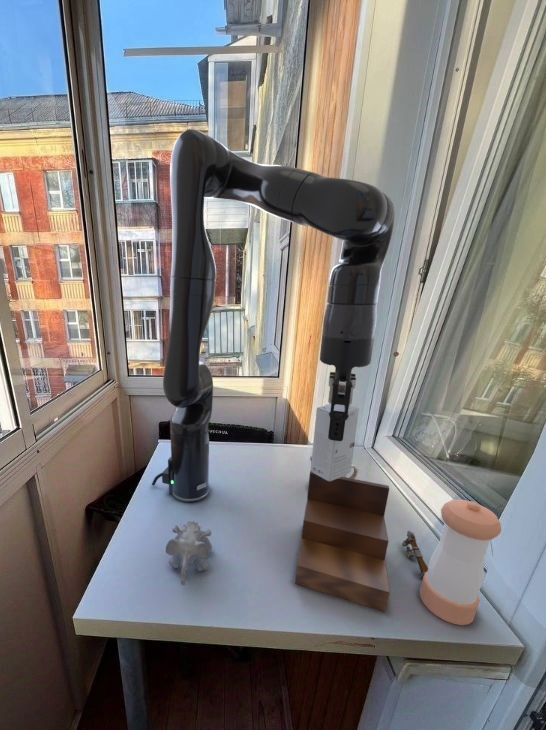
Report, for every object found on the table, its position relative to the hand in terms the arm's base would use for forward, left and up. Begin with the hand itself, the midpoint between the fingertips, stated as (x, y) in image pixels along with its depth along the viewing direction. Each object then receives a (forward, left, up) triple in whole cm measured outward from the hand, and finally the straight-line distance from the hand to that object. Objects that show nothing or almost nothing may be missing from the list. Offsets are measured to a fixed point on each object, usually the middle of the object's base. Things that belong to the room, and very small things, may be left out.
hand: (335, 430), depth 57 cm
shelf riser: (+3, -2, -26) cm, 26 cm away
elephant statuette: (-22, -13, -26) cm, 36 cm away
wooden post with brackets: (+16, +4, -26) cm, 31 cm away
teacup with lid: (+1, +23, -26) cm, 35 cm away
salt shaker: (+20, -4, -26) cm, 33 cm away
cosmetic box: (0, 0, -8) cm, 8 cm away
